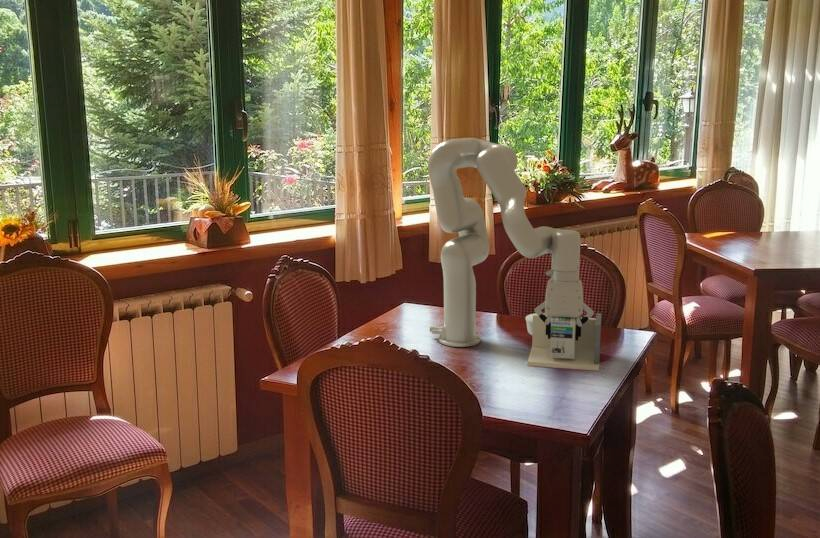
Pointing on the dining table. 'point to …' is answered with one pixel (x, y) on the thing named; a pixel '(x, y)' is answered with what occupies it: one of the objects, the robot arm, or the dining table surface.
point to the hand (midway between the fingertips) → (563, 337)
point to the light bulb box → (563, 337)
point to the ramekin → (530, 322)
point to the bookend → (597, 338)
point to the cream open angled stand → (580, 361)
